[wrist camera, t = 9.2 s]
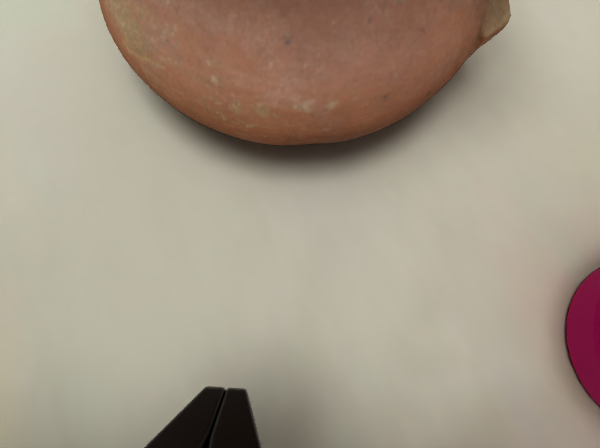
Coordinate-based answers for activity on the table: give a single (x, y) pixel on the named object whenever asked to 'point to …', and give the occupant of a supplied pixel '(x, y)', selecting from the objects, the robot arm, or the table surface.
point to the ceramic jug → (299, 60)
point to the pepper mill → (586, 334)
